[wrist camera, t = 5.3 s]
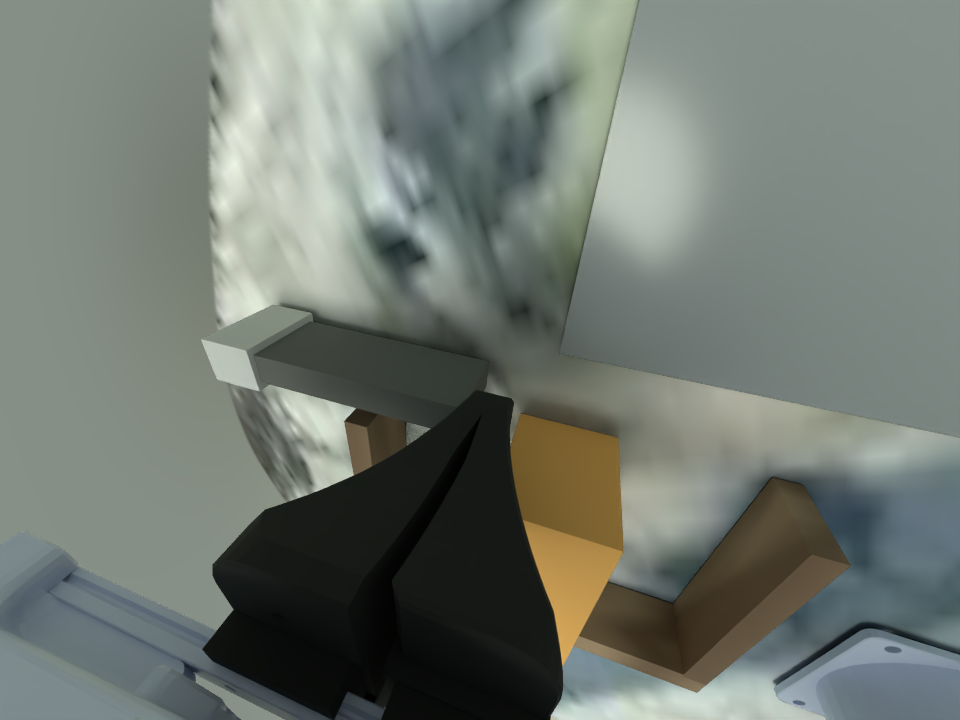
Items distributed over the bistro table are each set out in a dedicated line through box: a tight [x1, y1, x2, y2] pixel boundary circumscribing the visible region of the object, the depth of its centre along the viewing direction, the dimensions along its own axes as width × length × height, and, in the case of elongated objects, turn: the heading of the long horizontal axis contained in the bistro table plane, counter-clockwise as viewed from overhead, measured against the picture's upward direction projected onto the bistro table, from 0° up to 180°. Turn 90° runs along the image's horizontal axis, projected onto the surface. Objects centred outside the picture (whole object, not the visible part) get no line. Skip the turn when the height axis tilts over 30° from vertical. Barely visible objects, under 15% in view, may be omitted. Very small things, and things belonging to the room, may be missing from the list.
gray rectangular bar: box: [201, 305, 489, 428], centre depth 14 cm, size 10×2×3 cm, turn 86°
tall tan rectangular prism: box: [510, 413, 624, 666], centre depth 15 cm, size 4×9×5 cm, turn 176°
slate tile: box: [559, 0, 960, 438], centre depth 8 cm, size 12×12×1 cm
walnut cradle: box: [344, 408, 851, 693], centre depth 16 cm, size 17×11×3 cm, turn 86°
